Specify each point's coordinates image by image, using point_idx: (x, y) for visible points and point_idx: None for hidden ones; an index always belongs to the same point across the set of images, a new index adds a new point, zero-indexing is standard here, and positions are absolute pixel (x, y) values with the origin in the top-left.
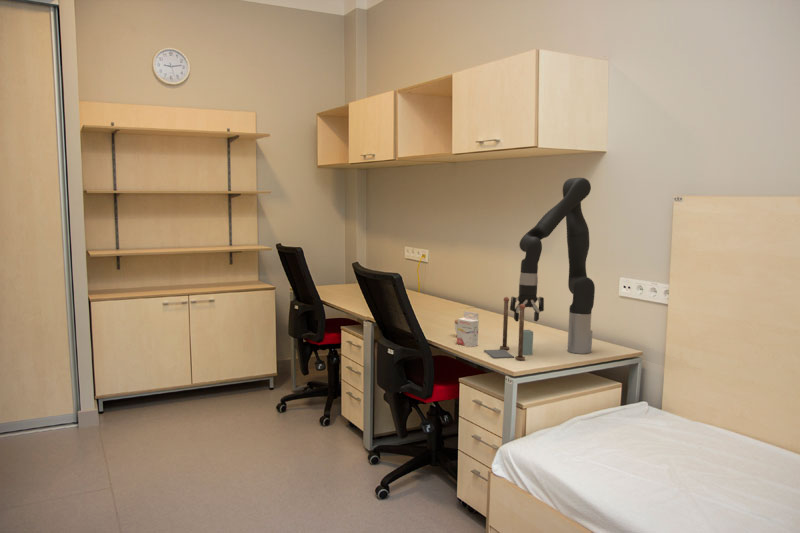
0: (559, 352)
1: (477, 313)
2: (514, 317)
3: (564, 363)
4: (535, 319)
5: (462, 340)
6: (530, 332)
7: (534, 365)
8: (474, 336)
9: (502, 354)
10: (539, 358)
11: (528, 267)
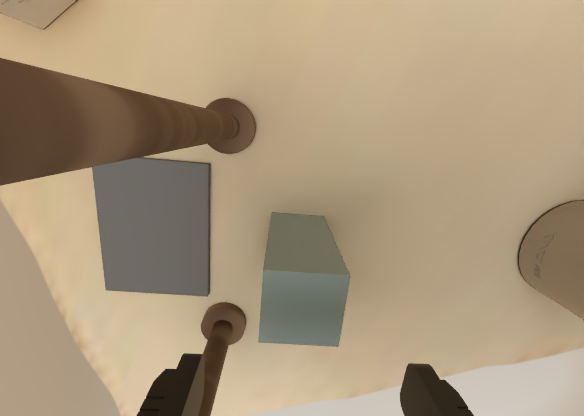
0: (470, 245)
1: None
2: (149, 403)
3: (372, 390)
4: (409, 408)
5: None
6: (315, 342)
7: (245, 395)
8: None
9: (164, 257)
10: None
11: None
